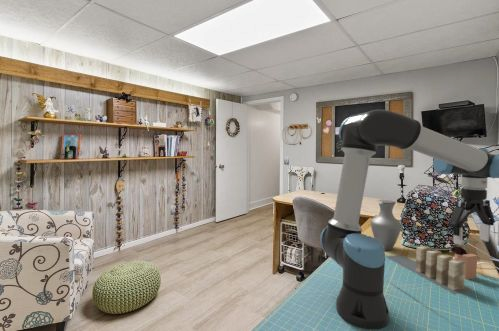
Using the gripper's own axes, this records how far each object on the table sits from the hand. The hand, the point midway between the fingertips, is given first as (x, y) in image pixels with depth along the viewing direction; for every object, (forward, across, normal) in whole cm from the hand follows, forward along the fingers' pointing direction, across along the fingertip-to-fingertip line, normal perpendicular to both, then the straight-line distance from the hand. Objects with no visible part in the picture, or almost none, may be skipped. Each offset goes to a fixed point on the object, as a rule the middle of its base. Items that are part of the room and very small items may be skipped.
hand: (471, 242), depth 99 cm
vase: (+15, -8, +35) cm, 39 cm away
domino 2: (+14, -13, +4) cm, 20 cm away
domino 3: (+14, -13, 0) cm, 19 cm away
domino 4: (+14, -13, -5) cm, 20 cm away
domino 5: (+15, 0, 0) cm, 15 cm away
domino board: (+15, -13, +8) cm, 22 cm away
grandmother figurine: (+16, +7, +9) cm, 19 cm away
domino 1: (+14, -13, +8) cm, 21 cm away
